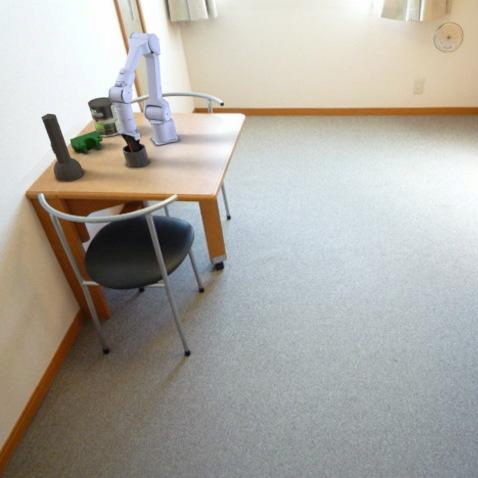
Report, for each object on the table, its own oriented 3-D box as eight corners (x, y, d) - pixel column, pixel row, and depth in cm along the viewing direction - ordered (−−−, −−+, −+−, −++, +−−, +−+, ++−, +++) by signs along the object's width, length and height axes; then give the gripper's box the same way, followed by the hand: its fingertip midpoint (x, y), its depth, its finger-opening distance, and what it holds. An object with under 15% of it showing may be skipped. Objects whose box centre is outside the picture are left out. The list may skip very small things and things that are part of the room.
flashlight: (83, 166, 193) (56, 171, 191) (63, 106, 178) (33, 110, 175) (83, 178, 186) (55, 183, 183) (62, 116, 171) (31, 121, 168)
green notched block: (86, 162, 205) (74, 149, 197) (78, 155, 207) (66, 142, 199) (108, 144, 208) (98, 131, 200) (101, 137, 210) (90, 123, 202)
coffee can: (110, 138, 213) (101, 107, 204) (91, 134, 216) (82, 104, 207) (126, 129, 220) (118, 99, 212) (108, 125, 224) (99, 95, 215)
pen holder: (145, 155, 201) (141, 141, 197) (151, 164, 195) (147, 149, 191) (124, 160, 197) (120, 146, 193) (129, 169, 191) (125, 154, 187)
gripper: (107, 115, 187) (117, 147, 195) (124, 127, 178) (133, 160, 186) (125, 110, 190) (133, 141, 199) (142, 121, 182) (150, 154, 190)
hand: (134, 150), depth 193 cm, fingers closed on marker, 3 cm apart
